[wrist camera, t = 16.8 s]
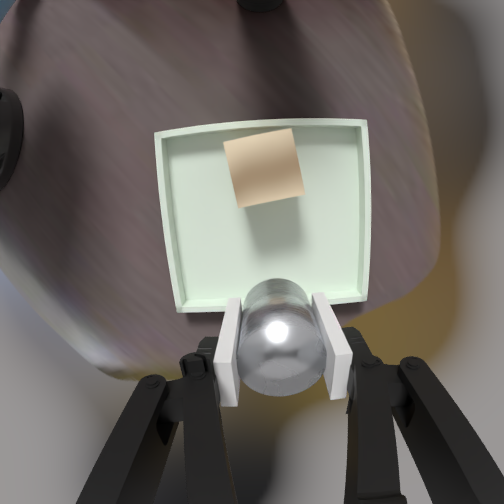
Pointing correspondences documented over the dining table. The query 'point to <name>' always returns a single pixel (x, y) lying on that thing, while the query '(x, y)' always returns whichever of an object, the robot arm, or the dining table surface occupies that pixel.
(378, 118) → the dining table surface
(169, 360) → the dining table surface
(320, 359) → the cylinder
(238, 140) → the beech block
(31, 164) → the dining table surface
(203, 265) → the tray
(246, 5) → the drinking cup
